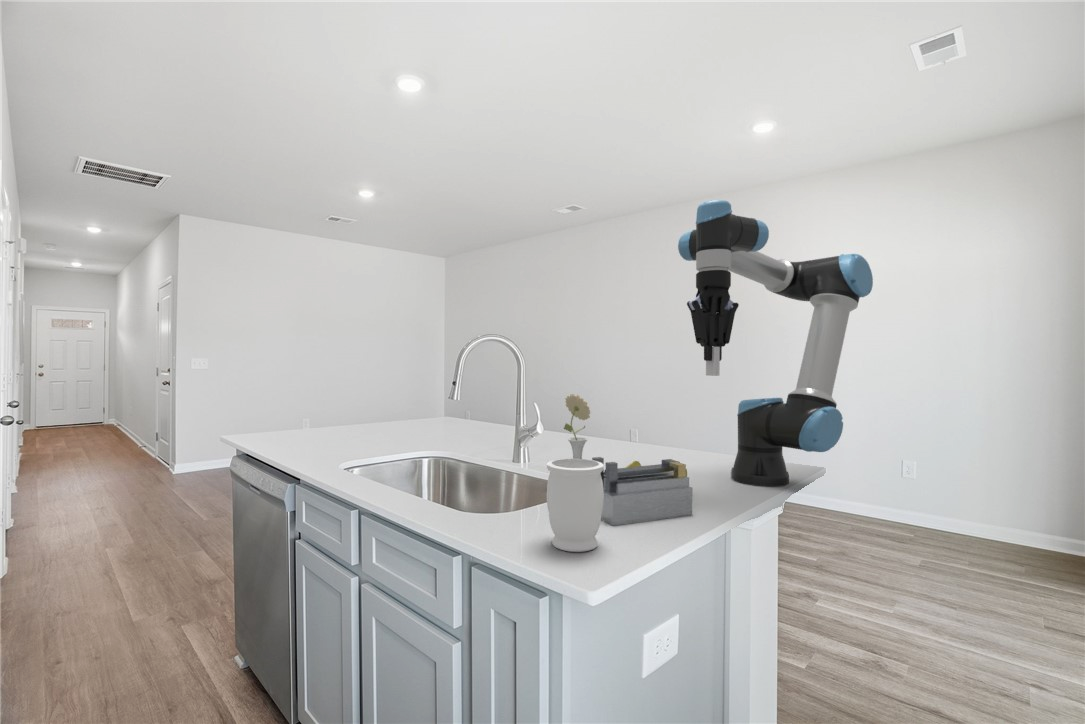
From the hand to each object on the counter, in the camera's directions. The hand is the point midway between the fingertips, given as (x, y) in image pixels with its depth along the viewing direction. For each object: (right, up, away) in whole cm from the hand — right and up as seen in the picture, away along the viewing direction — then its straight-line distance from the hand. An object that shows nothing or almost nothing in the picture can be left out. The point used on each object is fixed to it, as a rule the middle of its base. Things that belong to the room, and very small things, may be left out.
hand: (712, 375), depth 121 cm
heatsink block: (-18, -30, -2) cm, 35 cm away
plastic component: (-10, -31, +18) cm, 37 cm away
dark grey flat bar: (-16, -22, -1) cm, 27 cm away
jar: (-33, -31, -23) cm, 50 cm away
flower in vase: (-30, -30, +15) cm, 45 cm away
